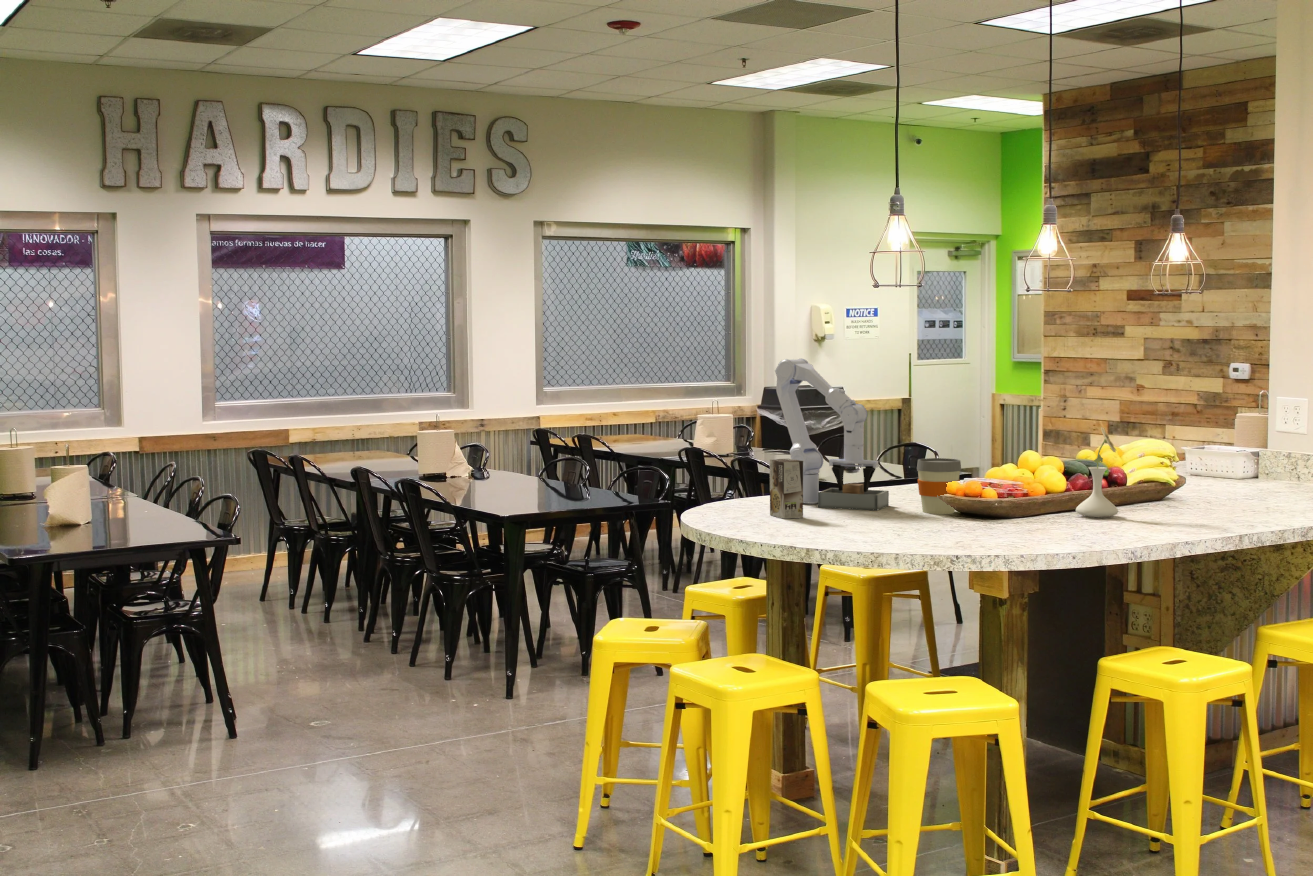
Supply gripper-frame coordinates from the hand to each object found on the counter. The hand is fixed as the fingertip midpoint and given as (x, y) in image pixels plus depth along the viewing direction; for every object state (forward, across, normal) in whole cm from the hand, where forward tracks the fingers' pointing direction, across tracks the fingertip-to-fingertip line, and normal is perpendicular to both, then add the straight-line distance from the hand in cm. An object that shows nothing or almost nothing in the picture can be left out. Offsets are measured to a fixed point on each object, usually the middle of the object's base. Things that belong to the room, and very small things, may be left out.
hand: (853, 490), depth 402 cm
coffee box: (+5, -11, -28) cm, 30 cm away
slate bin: (+5, 0, 0) cm, 5 cm away
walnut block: (+4, 0, 0) cm, 4 cm away
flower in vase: (+5, +69, +6) cm, 70 cm away
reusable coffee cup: (+5, +26, -2) cm, 27 cm away
